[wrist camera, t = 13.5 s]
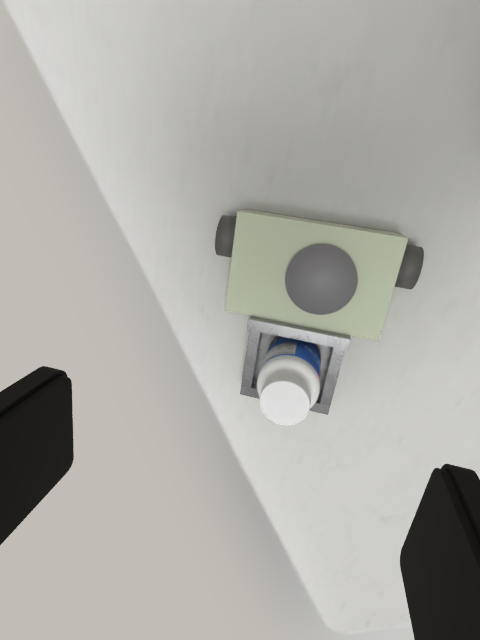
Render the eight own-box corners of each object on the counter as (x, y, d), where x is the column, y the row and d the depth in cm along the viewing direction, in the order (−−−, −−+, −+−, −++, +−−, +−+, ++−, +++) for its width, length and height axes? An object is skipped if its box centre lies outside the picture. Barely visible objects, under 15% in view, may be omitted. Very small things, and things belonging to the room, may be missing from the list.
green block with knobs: (419, 236, 33) (431, 242, 29) (391, 331, 36) (398, 347, 32) (228, 206, 35) (217, 208, 32) (218, 297, 39) (206, 309, 35)
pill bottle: (328, 372, 38) (329, 428, 29) (278, 384, 40) (264, 441, 31) (310, 323, 37) (306, 366, 28) (260, 338, 39) (240, 383, 30)
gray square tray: (347, 322, 37) (350, 339, 32) (327, 401, 40) (327, 426, 36) (257, 305, 38) (248, 319, 34) (244, 382, 41) (235, 404, 37)
